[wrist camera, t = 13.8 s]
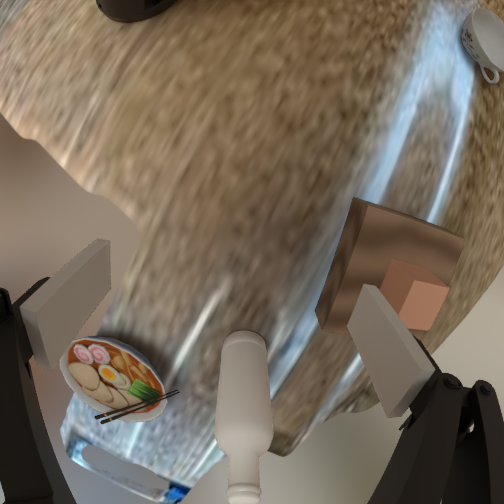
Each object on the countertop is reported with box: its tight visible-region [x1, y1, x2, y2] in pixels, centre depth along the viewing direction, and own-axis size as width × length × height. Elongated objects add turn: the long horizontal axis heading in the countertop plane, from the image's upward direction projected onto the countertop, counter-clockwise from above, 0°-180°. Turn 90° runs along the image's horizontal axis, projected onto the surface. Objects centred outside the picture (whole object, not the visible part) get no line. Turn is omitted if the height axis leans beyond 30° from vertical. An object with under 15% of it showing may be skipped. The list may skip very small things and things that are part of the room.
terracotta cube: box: [379, 259, 450, 331], centre depth 38 cm, size 7×7×7 cm
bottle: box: [214, 330, 274, 504], centre depth 37 cm, size 8×8×30 cm
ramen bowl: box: [60, 336, 179, 424], centre depth 49 cm, size 25×23×8 cm
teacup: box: [462, 8, 504, 84], centre depth 28 cm, size 15×12×8 cm
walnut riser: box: [315, 197, 465, 340], centre depth 44 cm, size 20×20×6 cm
